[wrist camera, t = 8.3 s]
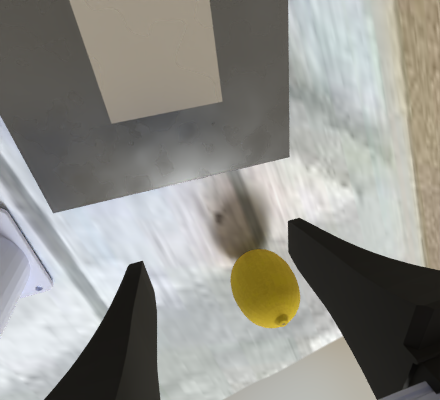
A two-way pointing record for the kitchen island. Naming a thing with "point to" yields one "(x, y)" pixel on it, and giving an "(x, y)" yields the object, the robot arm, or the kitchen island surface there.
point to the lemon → (265, 288)
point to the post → (150, 54)
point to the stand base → (147, 126)
